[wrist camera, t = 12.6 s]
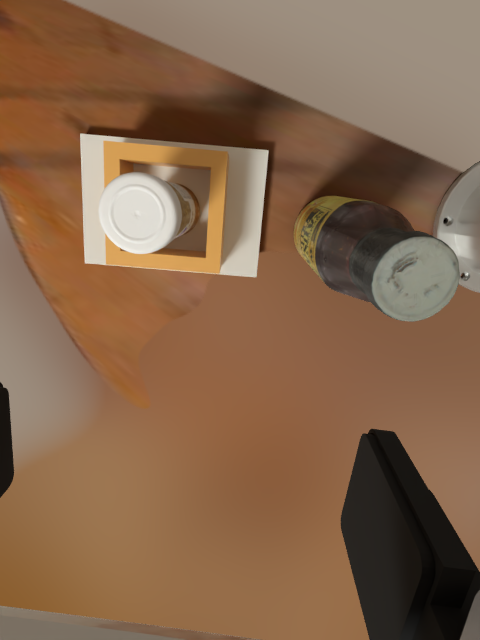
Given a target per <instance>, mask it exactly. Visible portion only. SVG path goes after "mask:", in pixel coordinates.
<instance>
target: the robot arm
mask: <svg viewBox="0 0 480 640" xmlns="http://www.w3.org/2000/svg"><path fill="white" fill-rule="evenodd" d="M444 218H445V219H446V221H445V223H443V220H444ZM433 237H435V238H438V239H440V240H442V241H443V242H444V243H446V244H447V245H448V246H449V247H450V248H451V249H452V250H453V251H454V253H455V254H456V256H457V259H458V262H459V272H460V279H459V285H461V286H463V287H465V288H467V289H470V290H472V291H476V292H479V293H480V161H479V162H477V163H475V164H474V165H473V166H471V167H470V168H469V169H467V170H466V171H465V172H463V173H462V174H461V175H460V176H459V177H458V179H457V180H456V181H455V182H454V183H453V184H452V185H451V187H450V188H449V190H448V191H447V192H446V194H445V195H444V197H443V199H442V201H441V204H440V206H439V208H438V210H437V214H436V218H435V221H434V230H433ZM461 274H463V275H462V276H461ZM13 476H14V467H13V451H12V436H11V422H10V407H9V393H8V390H7V389H6V388H3V385H2V384H1V383H0V497H1V496H2V495H3V494H4V493H5V491H6V490H7V489H8V488H9V486H10V484H11V482H12V480H13ZM341 529H342V533H343V537H344V542H345V545H346V549H347V553H348V557H349V560H350V565H351V569H352V573H353V576H354V580H355V584H356V588H357V592H358V595H359V600H360V604H361V608H362V612H363V615H364V619H365V623H366V627H367V631H368V635H369V639H370V640H480V572H479V570H478V568H477V567H476V565H475V563H474V562H473V560H472V558H471V557H470V555H469V553H468V552H467V550H466V548H465V547H464V545H463V543H462V542H461V540H460V538H459V537H458V535H457V533H456V531H455V530H454V528H453V526H452V525H451V523H450V521H449V520H448V518H447V517H446V515H445V513H444V511H443V510H442V508H441V506H440V505H439V503H438V501H437V500H436V498H435V496H434V495H433V493H432V492H431V491H430V490H428V488H427V486H426V484H425V483H424V481H423V479H422V478H421V476H420V474H419V473H418V471H417V469H416V467H415V466H414V464H413V462H412V461H411V459H410V457H409V456H408V454H407V452H406V451H405V449H404V447H403V446H402V444H401V442H400V440H399V439H398V437H397V435H396V434H395V433H394V432H392V431H384V430H377V429H371V430H370V431H369V433H368V434H362V436H361V439H360V442H359V447H358V451H357V454H356V459H355V462H354V466H353V471H352V475H351V479H350V482H349V487H348V490H347V494H346V499H345V502H344V507H343V510H342V515H341ZM0 640H259V639H251V638H244V637H237V636H229V635H222V634H214V633H206V632H200V631H191V630H184V629H177V628H169V627H162V626H154V625H146V624H138V623H129V622H123V621H115V620H107V619H100V618H92V617H84V616H76V615H68V614H60V613H52V612H44V611H36V610H28V609H21V608H13V607H4V606H0Z"/></svg>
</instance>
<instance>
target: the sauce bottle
mask: <svg viewBox="0 0 480 640" xmlns="http://www.w3.org/2000/svg"><path fill="white" fill-rule="evenodd" d="M294 241H295V246H296V248H297V250H298V252H299V254H300V255H301V256H302V257H303V258H304V259H305V261H306V262H307V263H308V264H309V266H310V267H311V268H312V269H313V270H314V271H315V272H316V273H317V274H318V276H319V277H320V278H321V280H322V281H323V282H325V284H326V285H327V286H328V287H329V288H331V289H333V290H335V291H337V292H340V293H343V294H346V295H349V296H352V297H355V298H358V299H361V300H364V301H368V302H371V303H372V304H373V305H374V306H375V307H376V308H377V309H378V310H380V311H381V312H383V313H384V314H386V315H387V316H389V317H391V318H394V319H397V320H401V321H418V320H423V319H426V318H428V317H430V316H432V315H434V314H436V313H437V312H439V311H440V310H441V309H442V308H443V307H444V306H445V305H447V304H448V303H449V301H450V299H451V298H452V297H453V296H454V293H455V291H456V289H457V287H458V284H459V279H460V272H459V262H458V259H457V256H456V254H455V253H454V251H453V250H452V249H451V248H450V247H449V246H448V245H447V244H446V243H444V242H443V241H442V240H440V239H438V238H435V237H433V236H431V235H429V234H427V233H424V232H420V231H414V229H413V228H412V226H411V224H410V223H409V221H408V220H407V219H406V218H405V217H404V216H403V215H402V214H401V213H400V212H398V211H396V210H394V209H392V208H390V207H388V206H384V205H380V204H378V203H375V202H372V201H367V200H359V199H352V198H346V197H340V196H324V197H320V198H318V199H315V200H313V201H312V202H310V203H309V204H308V205H307V206H305V208H303V209H302V210H301V211H300V213H299V215H298V217H297V220H296V223H295V226H294Z"/></svg>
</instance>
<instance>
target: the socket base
mask: <svg viewBox="0 0 480 640" xmlns="http://www.w3.org/2000/svg"><path fill="white" fill-rule="evenodd" d="M80 142H81V170H82V198H83V226H84V254H85V263H89V264H101V265H113V266H126V267H138V268H150V269H162V270H174V271H186V272H198V273H210V274H223V275H235V276H247V277H257V267H258V256H259V246H260V236H261V225H262V215H263V204H264V194H265V183H266V173H267V162H268V152H269V150H260V149H249V148H238V147H226V146H215V145H203V144H192V143H181V142H169V141H158V140H147V139H135V138H124V137H113V136H101V135H90V134H80ZM131 172H141V173H147V174H151V175H154V176H157V177H159V178H161V179H162V180H164V181H168V182H172V183H177V184H181V185H184V186H186V187H187V188H188V189H190V190H191V191H192V192H193V193H194V195H195V196H196V198H197V200H198V203H199V206H200V216H199V219H198V222H197V224H196V225H195V227H194V228H193V229H192V230H191V231H190V232H188V233H187V234H184V235H181V236H179V237H177V238H175V239H173V240H172V241H171V242H170V243H169V244H168V245H166V246H165V247H163V248H162V249H160V250H158V251H155V252H152V253H148V254H134V253H130V252H127V251H125V250H123V249H121V248H119V247H118V246H116V245H115V244H114V243H113V242H112V241H111V240H110V239H109V238H108V237H107V235H106V234H105V232H104V230H103V228H102V226H101V223H100V219H99V211H98V210H99V201H100V197H101V195H102V193H103V191H104V189H105V187H106V186H107V185H108V184H109V183H110V182H111V181H112V180H113V179H115V178H116V177H118V176H120V175H122V174H126V173H131Z"/></svg>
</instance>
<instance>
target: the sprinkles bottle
mask: <svg viewBox="0 0 480 640" xmlns="http://www.w3.org/2000/svg"><path fill="white" fill-rule="evenodd" d="M98 211H99V219H100V223H101V226H102V228H103V230H104V232H105V234H106V235H107V237H108V238H109V239H110V240H111V241H112V242H113V243H114V244H115V245H116V246H118V247H119V248H121V249H123V250H125V251H127V252H130V253H134V254H148V253H152V252H155V251H158V250H160V249H162V248H163V247H165V246H166V245H168V244H169V243H170V242H171V241H172V240H173V239H175V238H177V237H179V236H181V235H184V234H187V233H188V232H190V231H191V230H192V229H193V228H194V227H195V225H196V224H197V222H198V219H199V216H200V206H199V203H198V200H197V198H196V196H195V195H194V193H193V192H192V191H191V190H190V189H188V188H187V187H186V186H184V185H181V184H177V183H172V182H168V181H164V180H162V179H161V178H159V177H157V176H154V175H151V174H147V173H141V172H131V173H126V174H122V175H120V176H118V177H116V178H115V179H113V180H112V181H111V182H110V183H109V184H108V185H107V186H106V187H105V189H104V191H103V193H102V195H101V197H100V201H99V210H98Z"/></svg>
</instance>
